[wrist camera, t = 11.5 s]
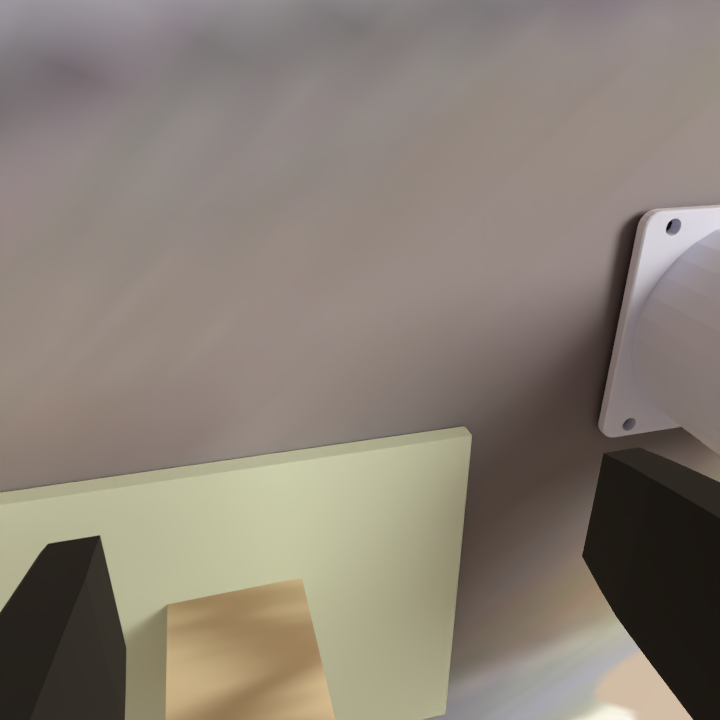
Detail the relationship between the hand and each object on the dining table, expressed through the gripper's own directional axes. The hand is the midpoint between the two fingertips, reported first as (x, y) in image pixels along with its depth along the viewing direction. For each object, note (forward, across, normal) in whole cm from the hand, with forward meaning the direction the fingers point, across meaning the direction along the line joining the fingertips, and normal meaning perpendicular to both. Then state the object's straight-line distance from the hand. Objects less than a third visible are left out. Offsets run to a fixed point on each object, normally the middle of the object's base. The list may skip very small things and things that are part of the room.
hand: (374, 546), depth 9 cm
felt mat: (+10, +2, +12) cm, 16 cm away
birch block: (+9, +2, +12) cm, 15 cm away
